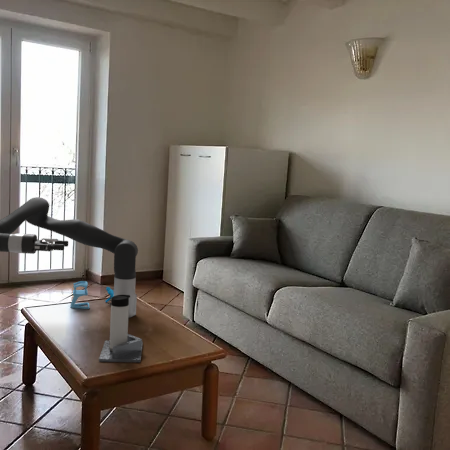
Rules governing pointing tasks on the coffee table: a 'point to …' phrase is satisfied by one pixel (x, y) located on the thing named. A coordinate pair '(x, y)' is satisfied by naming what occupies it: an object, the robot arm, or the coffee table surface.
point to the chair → (79, 293)
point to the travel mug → (119, 320)
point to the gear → (110, 291)
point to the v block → (123, 351)
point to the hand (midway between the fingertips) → (66, 245)
